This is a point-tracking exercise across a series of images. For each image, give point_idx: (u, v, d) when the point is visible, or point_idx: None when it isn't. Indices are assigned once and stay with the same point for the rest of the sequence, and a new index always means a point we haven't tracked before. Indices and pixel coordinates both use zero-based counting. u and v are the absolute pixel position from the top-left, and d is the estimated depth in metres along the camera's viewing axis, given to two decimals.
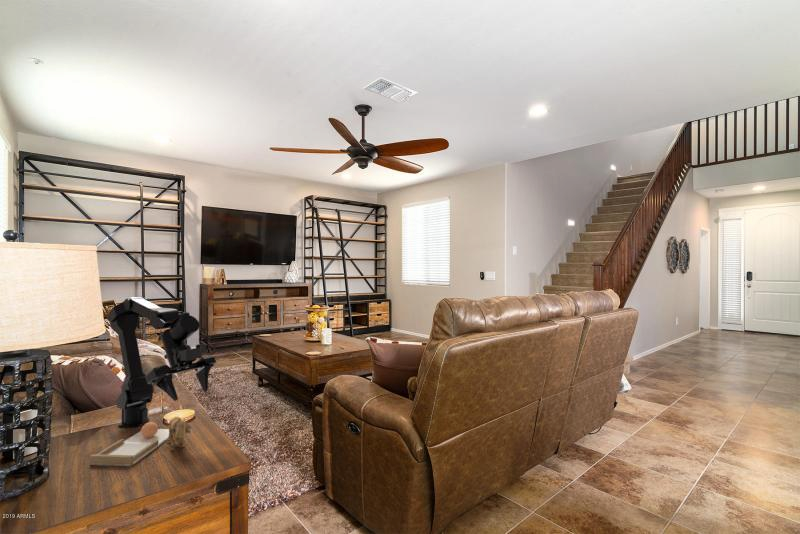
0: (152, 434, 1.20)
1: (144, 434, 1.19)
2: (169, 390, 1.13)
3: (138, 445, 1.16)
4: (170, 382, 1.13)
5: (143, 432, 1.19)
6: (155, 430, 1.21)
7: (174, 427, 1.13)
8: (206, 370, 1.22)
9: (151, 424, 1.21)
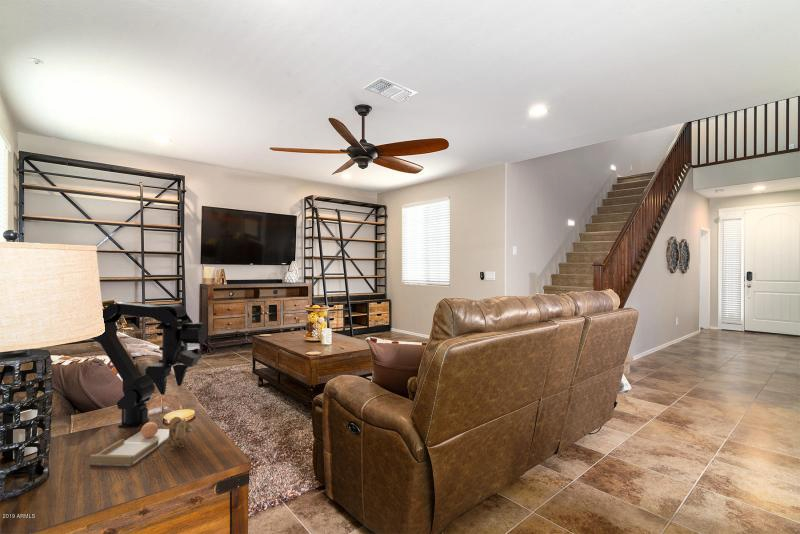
0: (152, 434, 1.20)
1: (144, 434, 1.19)
2: (161, 385, 1.27)
3: (138, 445, 1.16)
4: (166, 379, 1.27)
5: (143, 432, 1.19)
6: (155, 430, 1.21)
7: (174, 427, 1.13)
8: (187, 367, 1.38)
9: (151, 424, 1.21)
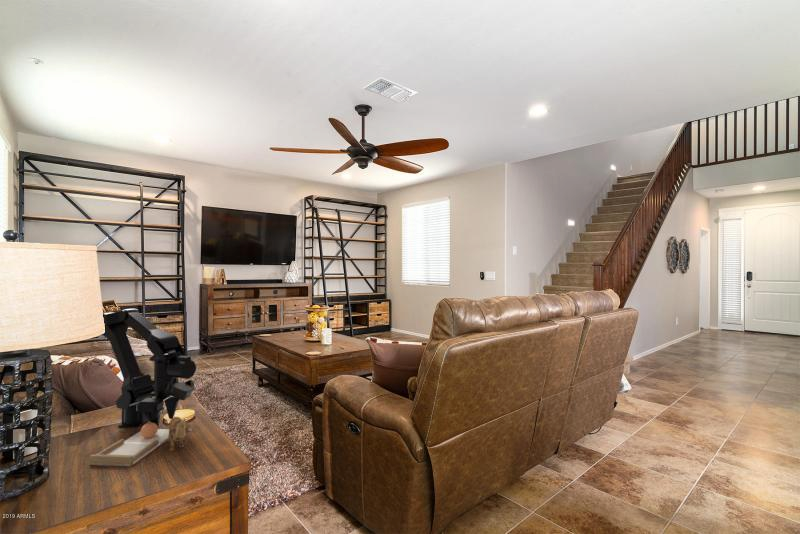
0: (152, 435, 1.20)
1: (144, 435, 1.19)
2: (154, 419, 1.23)
3: (138, 445, 1.16)
4: (159, 414, 1.23)
5: (143, 433, 1.19)
6: (155, 430, 1.21)
7: (174, 427, 1.13)
8: (179, 400, 1.33)
9: (150, 425, 1.21)
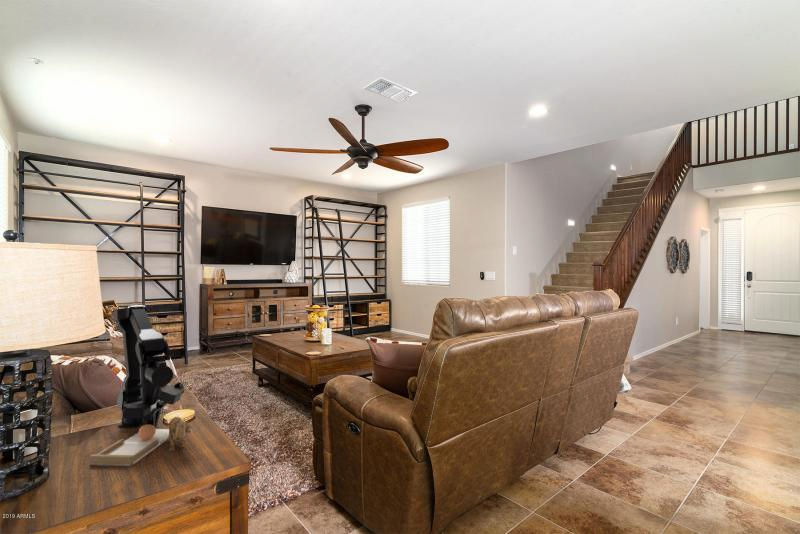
0: (151, 437, 1.20)
1: (143, 439, 1.19)
2: (150, 420, 1.21)
3: (138, 445, 1.16)
4: (154, 414, 1.21)
5: (141, 438, 1.18)
6: (153, 433, 1.20)
7: (174, 427, 1.13)
8: (162, 407, 1.24)
9: (146, 430, 1.18)
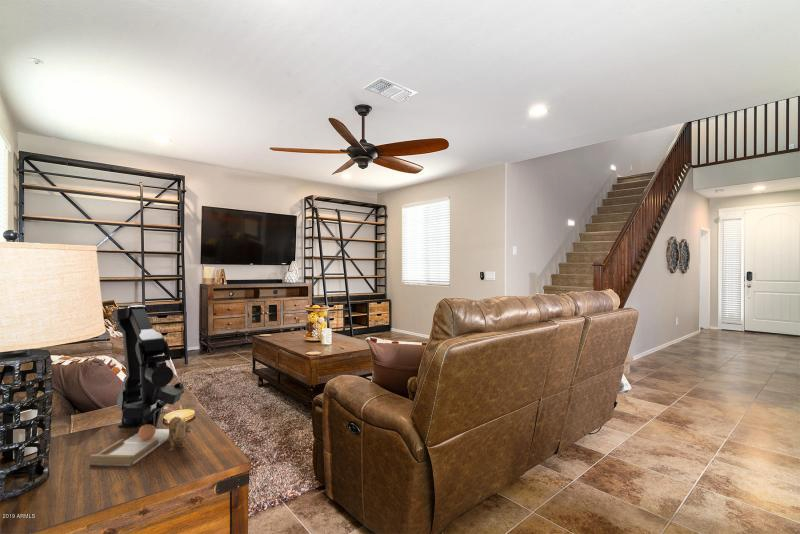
0: (151, 437, 1.20)
1: (143, 439, 1.19)
2: (150, 420, 1.21)
3: (138, 445, 1.16)
4: (154, 414, 1.21)
5: (141, 438, 1.18)
6: (153, 433, 1.20)
7: (174, 427, 1.13)
8: (162, 407, 1.24)
9: (146, 430, 1.19)
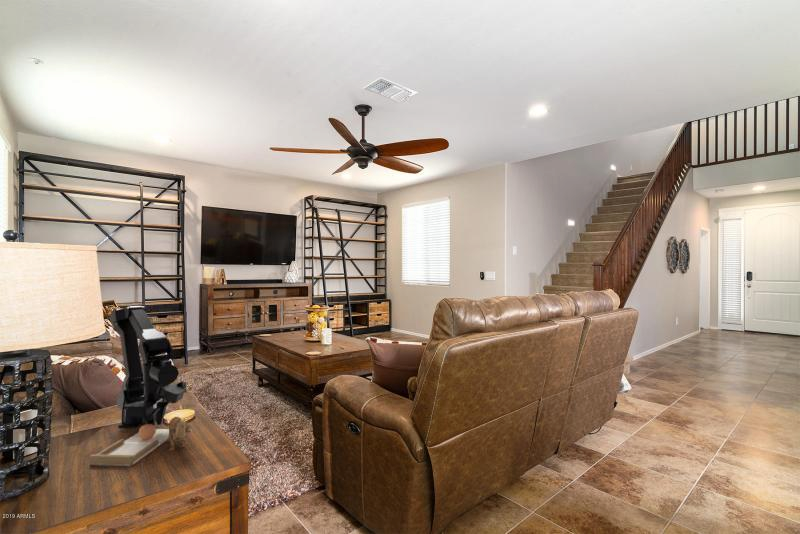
0: (151, 436, 1.20)
1: (143, 438, 1.19)
2: (150, 420, 1.21)
3: (138, 445, 1.16)
4: (155, 414, 1.21)
5: (141, 437, 1.18)
6: (153, 433, 1.20)
7: (174, 427, 1.13)
8: (167, 405, 1.26)
9: (147, 429, 1.19)
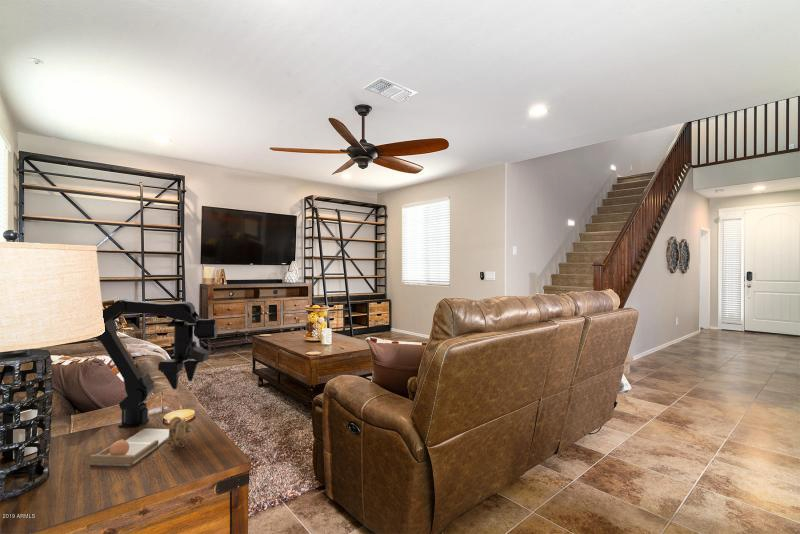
0: (121, 452, 1.07)
1: (113, 449, 1.07)
2: (173, 380, 1.30)
3: (138, 445, 1.16)
4: (178, 374, 1.31)
5: (113, 447, 1.07)
6: (126, 448, 1.08)
7: (174, 427, 1.13)
8: (197, 363, 1.42)
9: (124, 441, 1.09)
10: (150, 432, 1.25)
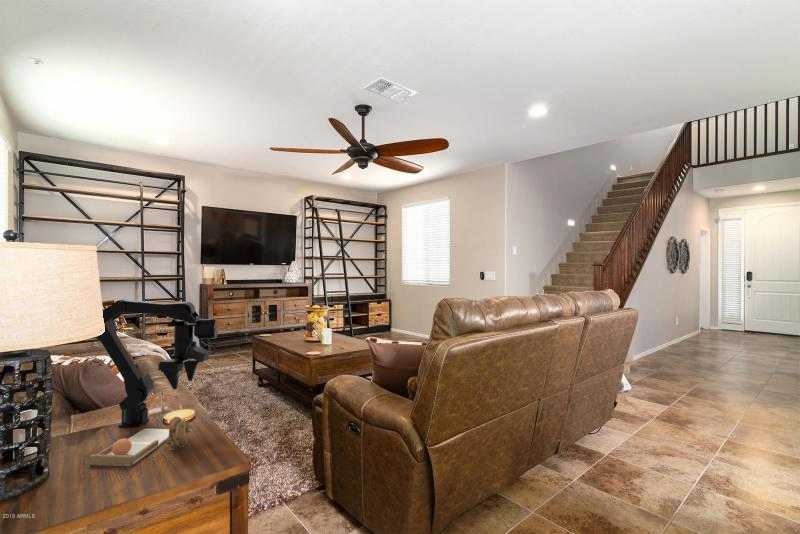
0: (124, 447, 1.09)
1: (117, 444, 1.08)
2: (173, 380, 1.31)
3: (138, 445, 1.16)
4: (178, 374, 1.31)
5: (117, 442, 1.09)
6: (129, 445, 1.10)
7: (174, 427, 1.13)
8: (197, 363, 1.42)
9: None
10: (150, 432, 1.25)
